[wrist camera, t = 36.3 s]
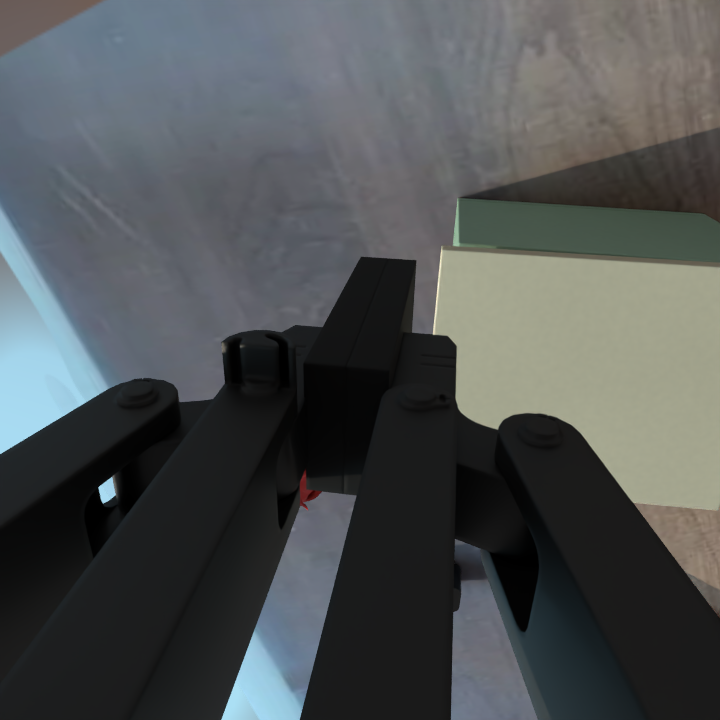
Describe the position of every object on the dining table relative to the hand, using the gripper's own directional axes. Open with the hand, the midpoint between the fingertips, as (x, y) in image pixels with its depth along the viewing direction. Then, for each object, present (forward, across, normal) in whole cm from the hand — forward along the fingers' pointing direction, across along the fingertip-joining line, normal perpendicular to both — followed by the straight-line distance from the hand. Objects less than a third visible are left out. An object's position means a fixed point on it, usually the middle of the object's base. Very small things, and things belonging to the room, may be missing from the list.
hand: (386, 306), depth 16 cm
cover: (+14, +9, -9) cm, 19 cm away
